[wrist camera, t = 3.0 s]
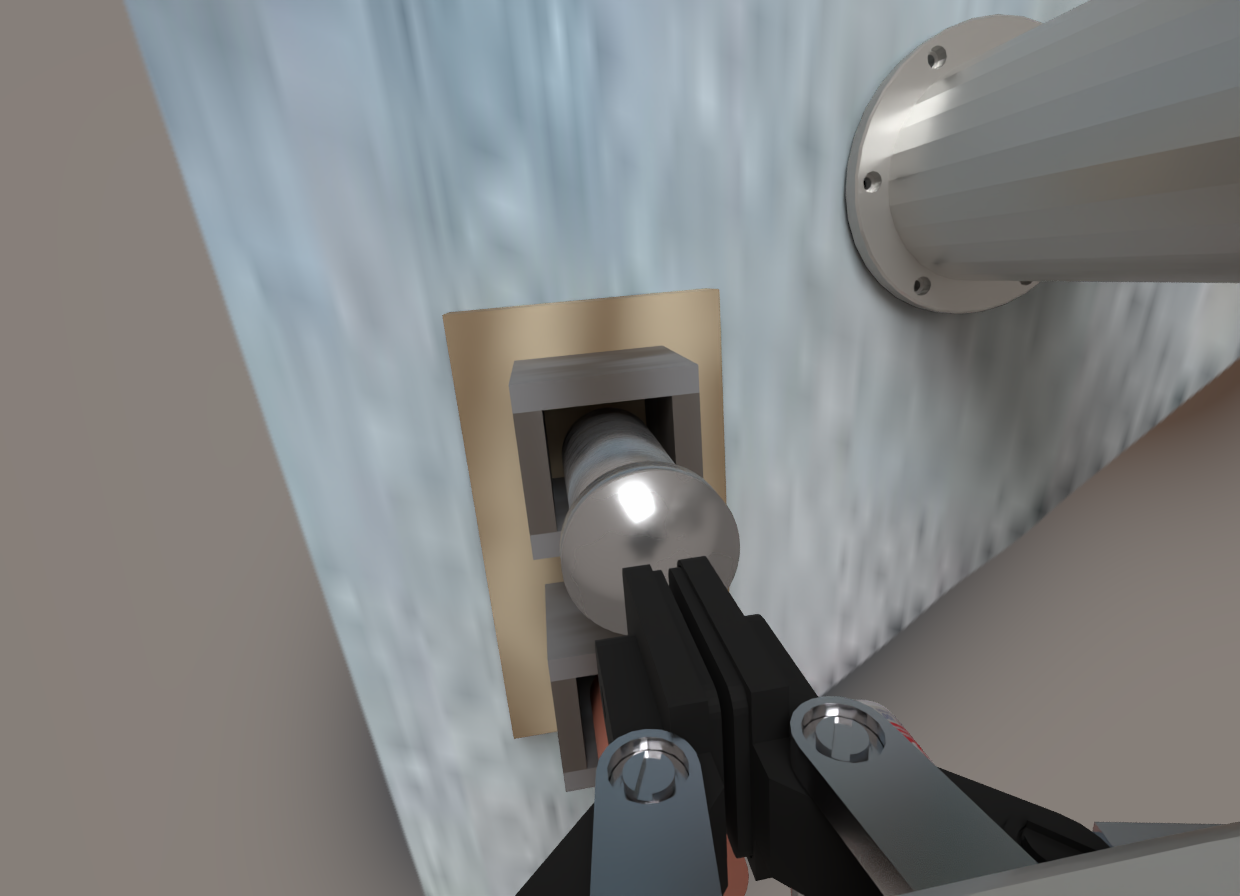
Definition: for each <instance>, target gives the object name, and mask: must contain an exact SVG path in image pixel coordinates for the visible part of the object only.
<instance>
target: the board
mask: <svg viewBox="0 0 1240 896" xmlns="http://www.w3.org/2000/svg"><path fill="white" fill-rule="evenodd" d="M442 316H443V322H444V328H445V334H446V340H447V346H448V352H449V357H450V363H451V369H452V375H453V381H454V387H455V393H456V399H457V405H458V411H459V417H460V423H461V428H462V434H463V440H464V446H465V452H466V458H467V464H468V470H469V476H470V482H471V488H472V494H473V499H474V505H475V511H476V517H477V523H478V529H479V535H480V541H481V547H482V553H483V559H484V565H485V570H486V576H487V582H488V588H489V594H490V600H491V606H492V612H493V618H494V624H495V630H496V636H497V642H498V647H499V653H500V659H501V665H502V671H503V677H504V683H505V689H506V695H507V701H508V707H509V713H510V718H511V724H512V730H513V736H514V739H516V738H522V737H528V736H533V735H539V734H545V733H551V732H556V731H558V738H559V745H560V752H561V759H562V767H563V774H564V781H565V788H566V792H568V791H574V790H579V789H584V788H590V787H595V781H596V769H597V765H598V761H599V760H598V753H597V745H596V738H595V730H594V722H593V715H592V707H591V700H590V689H591V685H592V682H593V680H594V678H595V676H596V675H597V674H598V670H597V661H596V652H595V640H601V639H607V638H613V637H619V636H625V635H623V634H619V633H615V632H612V631H610V630H607V629H605V628H603V627H601V626H599V625H598V624H596V623H594V622H593V621H592V620H590V619H589V618H588V617H586V616H585V615H584V614H583V613H582V612H581V611H580V610H579V609H578V607H577V606H576V605H575V603H574V602H573V601H572V599H571V597H570V595H569V593H568V591H567V589H566V586H565V583H564V580H563V575H562V569H561V559H560V535H561V530H562V526H563V523H564V520H565V517H566V515H567V513H568V511H569V503H568V497H567V490H566V483H565V477H564V470H563V464H562V445H563V441H564V438H565V436H566V434H567V432H568V430H569V429H570V427H571V426H572V425H573V424H574V422H575V421H576V420H578V419H579V418H580V417H581V416H583V415H585V414H586V413H588V412H590V411H593V410H596V409H600V408H609V407H611V408H619V409H623V410H626V411H629V412H631V413H633V414H634V415H636V416H637V417H639V418H640V419H641V420H642V421H643V422H644V424H645V425H646V426H647V427H648V429H649V430H650V431H651V433H652V434H653V435H654V437H655V438H656V439H657V441H658V442H659V443H660V445H661V446H662V447H663V449H664V450H665V451H666V453H667V454H668V455H669V457H670V458H671V459H672V461H673V462H674V463H675V464H676V465H679V466H682V467H685V468H687V469H689V470H691V471H693V472H694V473H696V474H697V475H699V476H700V477H702V478H703V479H704V480H705V481H706V482H707V483H708V484H710V485H711V487H712V488H713V489H714V490H715V491H716V492H717V494H718V495H719V496H720V497H721V498H722V500H723V501H724V502H725V503H726V478H725V447H724V417H723V387H722V357H721V327H720V297H719V289H707V288H706V289H695V290H685V291H674V292H663V293H652V294H642V295H631V296H620V297H609V298H599V299H588V300H577V301H566V302H556V303H545V304H534V305H523V306H513V307H502V308H491V309H480V310H470V311H459V312H449V313H446V314H444V315H442ZM728 591H729V588H728Z"/></svg>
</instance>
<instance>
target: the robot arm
mask: <svg viewBox="0 0 1240 896" xmlns="http://www.w3.org/2000/svg"><path fill="white" fill-rule="evenodd" d="M864 180H865V182H866V188H864V185H863V181H864ZM846 203H847V213H848V221H849V225H850V228H851V232H852V235H853V239H854V242H855V245H856V247H857V249H858V251H859V253H860V255H861V257H862V259H863V261H864V263H865V265H866V267H867V268H868V269H869V271H870V272H871V273H872V274H873V276H874V277H875V278H876V279H877V281H878V282H879V283H880V284H881V285H882V286H883V287H884V288H886V289H887V290H888V291H889V292H891V293H892V294H893V295H894V296H896V297H897V298H898V299H900V300H903V301H905V302H907V303H909V304H911V305H913V306H915V307H917V308H921V309H926V310H930V311H935V312H942V313H956V314H963V313H973V312H982V311H985V310H989V309H992V308H995V307H998V306H1002V305H1005V304H1007V303H1008V302H1010V301H1012V300H1014V299H1016V298H1018V297H1020V296H1022V295H1024V294H1026V293H1027V292H1028V291H1030V290H1031V289H1032V288H1034V287H1035V286H1036V285H1038V284H1039V283H1040V282H1041V281H1069V282H1179V283H1240V0H1090V1H1088V2H1086V3H1084V4H1082V5H1080V6H1078V7H1076V8H1074V9H1072V10H1070V11H1068V12H1066V13H1064V14H1062V15H1060V16H1058V17H1056V18H1054V19H1052V20H1049V21H1047V22H1045V23H1041V22H1038V21H1035V20H1032V19H1029V18H1027V17H1024V16H1015V15H1002V14H995V15H989V16H983V17H977V18H971V19H969V20H967V21H964V22H962V23H959V24H957V25H954V26H952V27H949V28H947V29H945V30H943V31H942V32H940V33H938V34H937V35H935V36H933V37H932V38H930V39H928V40H927V41H925V42H923V43H922V44H921V45H919V46H918V47H917V48H916V49H914V50H913V51H912V52H911V53H909V54H908V55H907V56H906V57H904V58H903V59H902V60H901V61H900V62H899V63H898V64H897V65H896V66H895V67H894V69H893V70H892V71H891V72H890V73H889V74H888V76H887V77H886V78H885V79H884V80H883V81H882V82H881V84H880V85H879V87H878V89H877V90H876V92H875V94H874V95H873V97H872V99H871V100H870V102H869V104H868V105H867V107H866V108H865V111H864V113H863V116H862V118H861V121H860V123H859V125H858V128H857V130H856V133H855V135H854V139H853V143H852V147H851V152H850V156H849V160H848V165H847V179H846ZM914 284H915V286H914ZM622 578H623V589H624V599H625V610H626V621H627V632H628V635H625V636H619V637H613V638H607V639H601V640H595V652H596V661H597V670H598V678H599V687H600V694H601V701H602V708H603V715H604V721H605V727H606V733H607V739H608V746H607V747H606V749H605V750H604V752H603V753H602V755H601V756H600V758H599V761H598V765H597V769H596V781H595V802H594V803H593V804H592V806H591V807H590V808H589V809H588V810H587V812H586V813H585V814H584V815H583V816H582V817H581V819H580V820H579V821H578V822H577V823H576V825H575V826H574V827H573V828H572V829H571V830H570V832H569V833H568V834H567V835H566V836H565V838H564V839H563V840H562V841H561V842H560V843H559V845H558V846H557V847H556V848H555V849H554V850H553V852H552V853H551V854H550V855H549V856H548V858H547V859H546V860H545V861H544V862H543V863H542V865H541V866H540V867H539V868H538V869H537V871H536V872H535V873H534V874H533V875H532V876H531V878H530V879H529V880H528V881H527V882H526V883H525V885H524V886H523V887H522V888H521V889H520V891H519V892H518V893H517V894H516V895H515V896H723V895H724V893H725V891H726V889H727V887H728V868H727V837H728V839H729V842H730V845H731V848H732V850H733V853H734V855H735V857H736V858H737V859H738V858H743V857H747V859H748V861H749V864H750V867H751V869H752V872H753V875H754V877H755V880H756V881H758V880H763V879H767V878H774V879H776V880H778V881H779V882H781V883H783V884H784V885H786V886H788V887H790V888H791V896H1240V822H1235V823H1230V824H1180V823H1178V824H1177V823H1128V822H1094V827H1093V832H1092V831H1090V830H1089V829H1087V828H1086V827H1084V826H1083V825H1081V824H1080V823H1078V822H1076V821H1074V820H1071V819H1069V818H1067V817H1065V816H1063V815H1061V814H1059V813H1057V812H1054V811H1051V810H1048V809H1046V808H1043V807H1041V806H1038V805H1036V804H1033V803H1030V802H1028V801H1025V800H1022V799H1020V798H1017V797H1015V796H1012V795H1009V794H1007V793H1004V792H1001V791H999V790H996V789H993V788H991V787H988V786H986V785H983V784H980V783H978V782H975V781H973V780H970V779H967V778H965V777H962V776H960V775H957V774H954V773H952V772H949V771H946V770H944V769H941V768H939V767H936V766H935V765H934V764H933V763H932V762H931V761H930V760H929V759H928V758H927V757H926V756H925V755H924V754H923V753H922V752H921V751H920V750H919V749H917V748H916V747H915V746H914V745H913V744H912V743H911V742H910V741H909V740H908V739H907V738H906V737H905V736H904V735H903V734H902V733H901V732H900V731H899V730H898V729H897V728H895V727H894V726H893V725H892V724H891V723H890V722H889V721H888V720H887V719H886V718H885V717H884V716H882V715H881V714H880V713H878V712H877V711H876V710H874V709H873V708H872V707H870V706H867V705H865V704H863V703H861V702H859V701H856V700H852V699H848V698H844V697H835V696H824V697H818V696H817V694H816V693H815V692H814V690H813V689H812V687H811V686H810V684H809V683H808V681H807V680H806V679H805V677H804V676H803V674H802V673H801V671H800V670H799V668H798V667H797V666H796V664H795V663H794V661H793V660H792V658H791V657H790V655H789V654H788V653H787V651H786V650H785V648H784V647H783V645H782V644H781V642H780V641H779V640H778V638H777V637H776V635H775V634H774V632H773V631H772V630H771V628H770V627H769V625H768V624H767V622H766V621H765V619H764V618H763V617H762V616H761V615H759V614H754V615H748V616H744V615H743V613H742V612H741V610H740V609H739V607H738V605H737V604H736V602H735V601H734V599H733V598H732V596H731V594H730V593H729V591H728V590H727V588H726V587H725V585H724V584H723V582H722V580H721V579H720V577H719V576H718V574H717V573H716V571H715V569H714V568H713V566H712V565H711V563H710V562H709V560H708V559H707V557H706V556H700V557H693V558H687V559H680V560H678V561H677V567H675V568H669V570H668V579H669V585H668V583H667V581H666V578H665V576H664V574H663V572H662V570H655V571H653V570H652V568H651V566H650V564H646V565H640V566H633V567H626V568H622ZM726 834H727V837H726Z"/></svg>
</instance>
